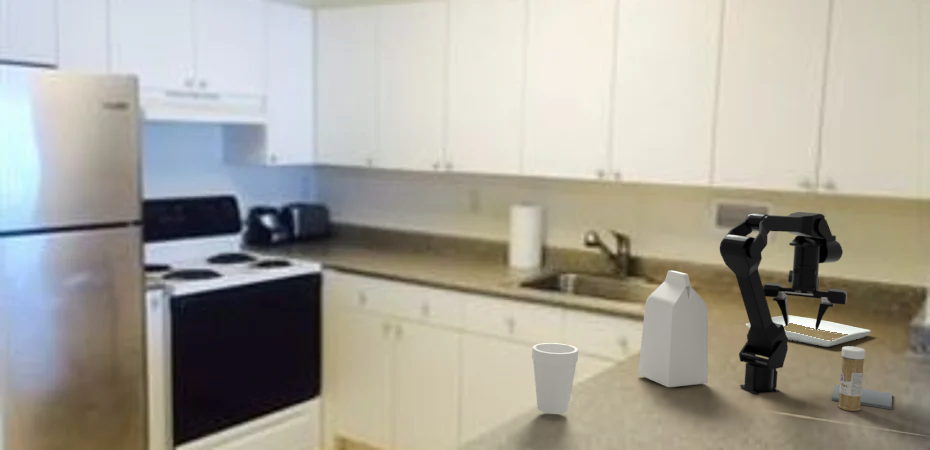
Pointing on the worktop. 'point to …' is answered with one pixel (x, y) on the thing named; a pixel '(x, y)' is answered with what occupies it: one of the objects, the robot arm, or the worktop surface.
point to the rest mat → (869, 398)
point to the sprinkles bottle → (851, 378)
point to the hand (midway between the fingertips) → (801, 328)
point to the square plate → (824, 325)
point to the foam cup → (554, 375)
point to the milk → (675, 334)
